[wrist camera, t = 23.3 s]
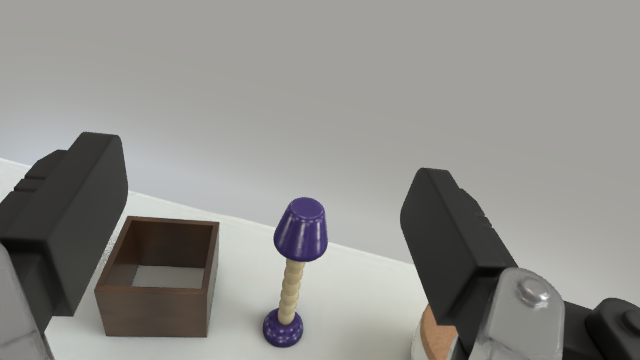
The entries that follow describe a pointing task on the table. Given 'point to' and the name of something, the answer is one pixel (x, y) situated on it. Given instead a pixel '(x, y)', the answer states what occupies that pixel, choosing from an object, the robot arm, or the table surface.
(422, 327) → the trinket box
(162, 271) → the table surface
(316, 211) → the toy lamp
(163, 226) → the open wooden box
